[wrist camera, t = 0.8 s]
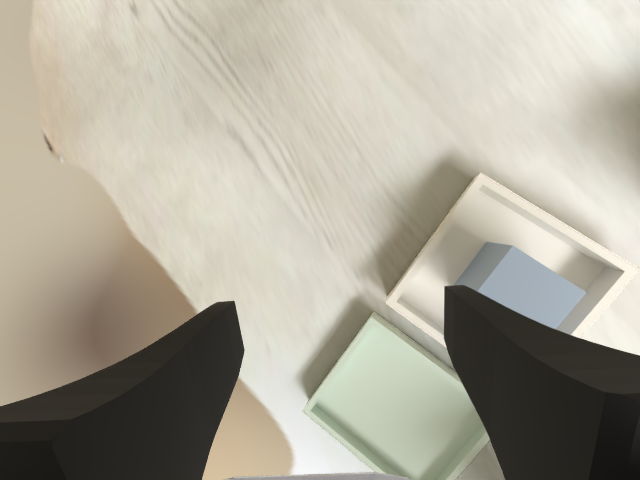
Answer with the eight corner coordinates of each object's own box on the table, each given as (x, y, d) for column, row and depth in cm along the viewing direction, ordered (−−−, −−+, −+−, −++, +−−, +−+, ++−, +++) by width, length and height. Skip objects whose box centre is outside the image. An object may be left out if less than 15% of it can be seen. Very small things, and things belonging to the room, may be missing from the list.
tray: (501, 404, 27) (508, 418, 25) (424, 495, 29) (425, 514, 27) (373, 311, 30) (371, 316, 28) (308, 400, 31) (302, 411, 29)
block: (540, 276, 26) (586, 292, 19) (501, 323, 27) (533, 355, 20) (486, 241, 27) (513, 245, 20) (450, 288, 28) (464, 307, 21)
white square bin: (615, 265, 25) (640, 269, 23) (512, 386, 27) (524, 404, 24) (473, 178, 27) (480, 172, 25) (387, 296, 29) (385, 303, 27)
